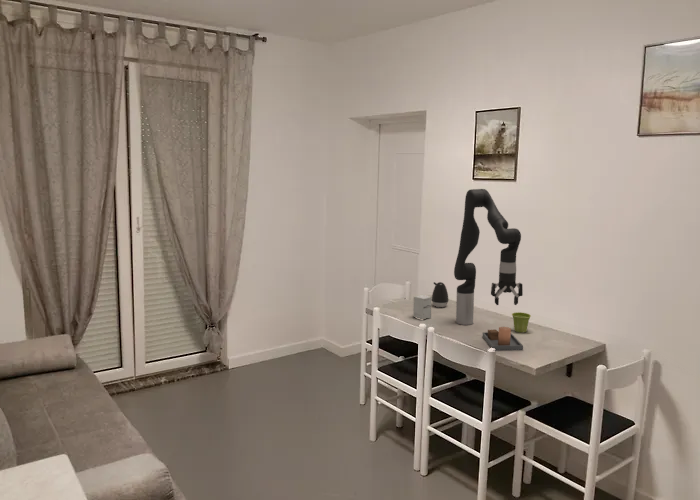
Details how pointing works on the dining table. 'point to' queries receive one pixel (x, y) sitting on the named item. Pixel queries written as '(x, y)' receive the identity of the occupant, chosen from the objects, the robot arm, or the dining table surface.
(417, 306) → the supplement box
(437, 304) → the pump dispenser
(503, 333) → the cylinder block
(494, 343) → the tray
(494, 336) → the walnut block
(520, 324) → the plant pot
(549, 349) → the dining table surface
